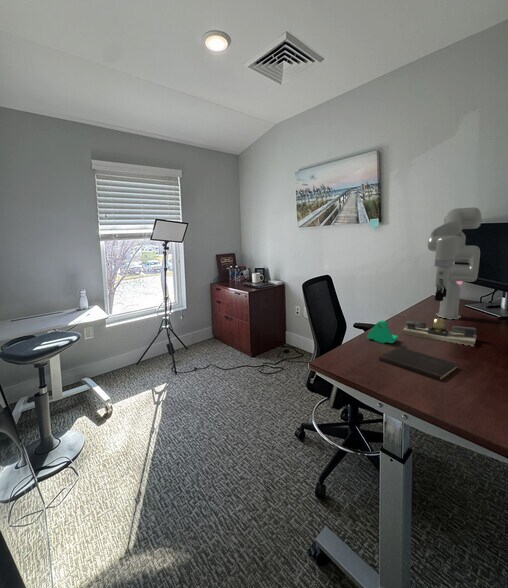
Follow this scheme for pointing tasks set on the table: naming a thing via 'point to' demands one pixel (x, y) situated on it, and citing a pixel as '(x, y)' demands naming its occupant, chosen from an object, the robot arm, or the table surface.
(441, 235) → the robot arm
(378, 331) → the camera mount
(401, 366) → the hardcover book
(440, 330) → the yellow round-topped cylinder
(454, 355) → the table surface
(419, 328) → the stand
